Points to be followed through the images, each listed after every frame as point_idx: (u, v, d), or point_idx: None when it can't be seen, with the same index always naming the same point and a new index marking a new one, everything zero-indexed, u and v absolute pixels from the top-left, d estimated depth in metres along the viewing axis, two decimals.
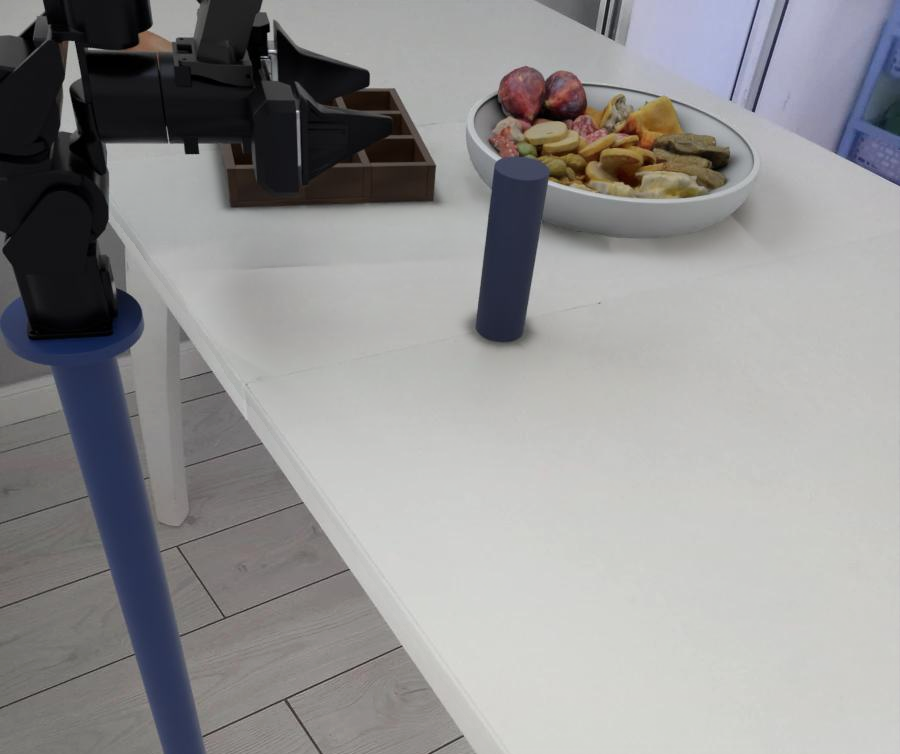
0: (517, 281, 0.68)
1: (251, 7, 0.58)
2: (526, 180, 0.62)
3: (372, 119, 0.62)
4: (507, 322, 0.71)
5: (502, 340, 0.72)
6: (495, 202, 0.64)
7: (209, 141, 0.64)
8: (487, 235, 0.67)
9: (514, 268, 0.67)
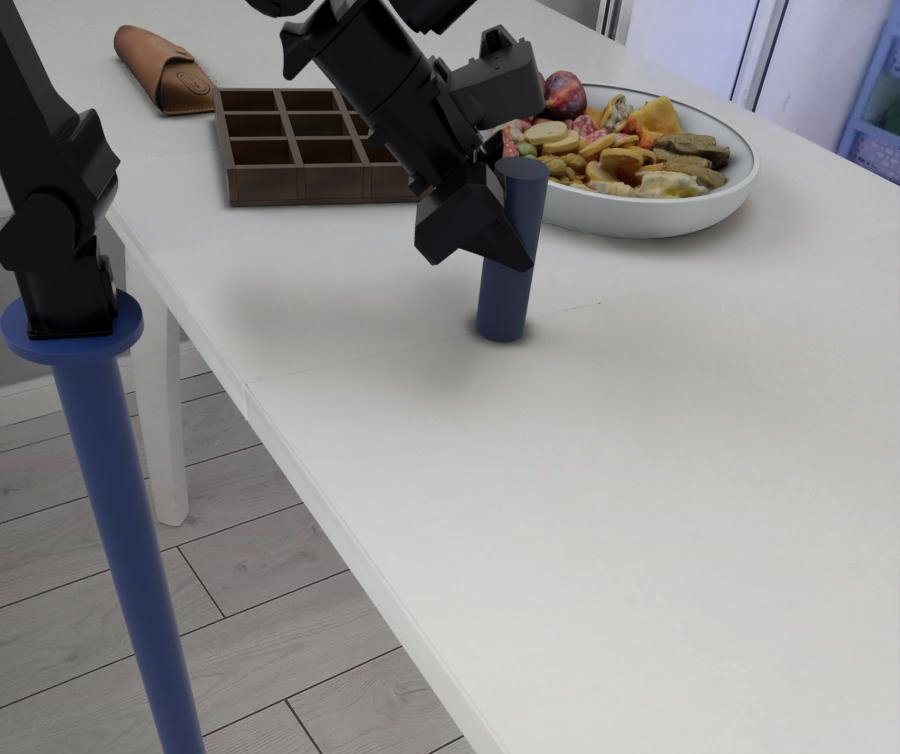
0: (517, 281, 0.68)
1: (524, 109, 0.59)
2: (526, 180, 0.62)
3: (523, 251, 0.65)
4: (507, 322, 0.71)
5: (502, 340, 0.72)
6: None
7: (392, 150, 0.61)
8: None
9: None
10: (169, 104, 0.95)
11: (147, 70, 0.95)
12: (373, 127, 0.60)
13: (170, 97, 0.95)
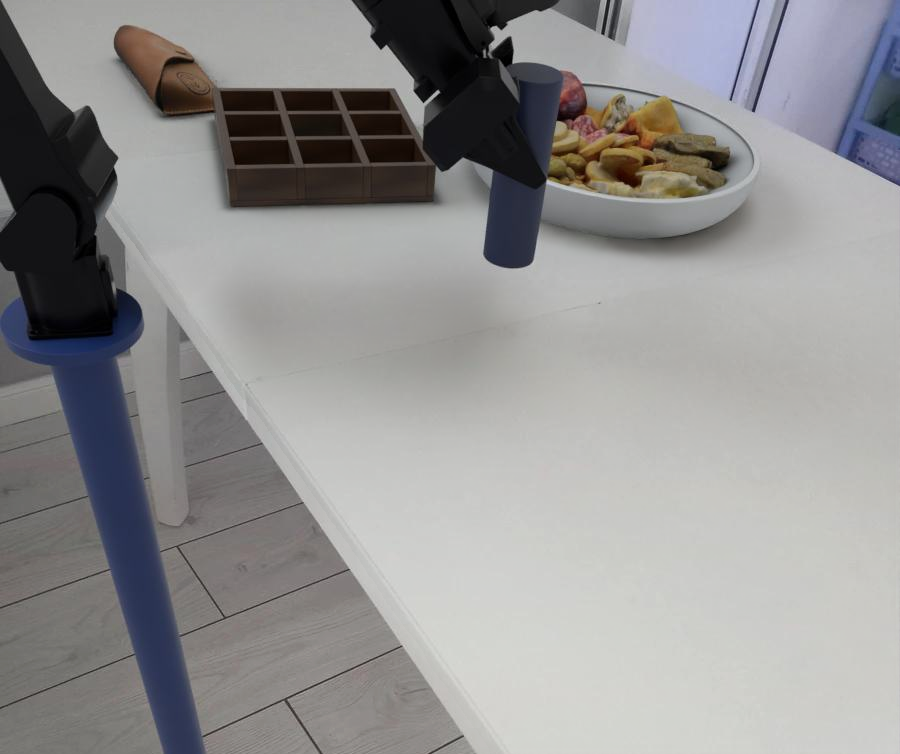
0: (529, 199, 0.64)
1: (538, 1, 0.55)
2: (539, 83, 0.58)
3: (536, 164, 0.62)
4: (517, 246, 0.67)
5: (512, 266, 0.68)
6: None
7: (397, 50, 0.57)
8: None
9: (525, 185, 0.63)
10: (169, 104, 0.95)
11: (148, 70, 0.95)
12: (376, 24, 0.56)
13: (170, 97, 0.95)
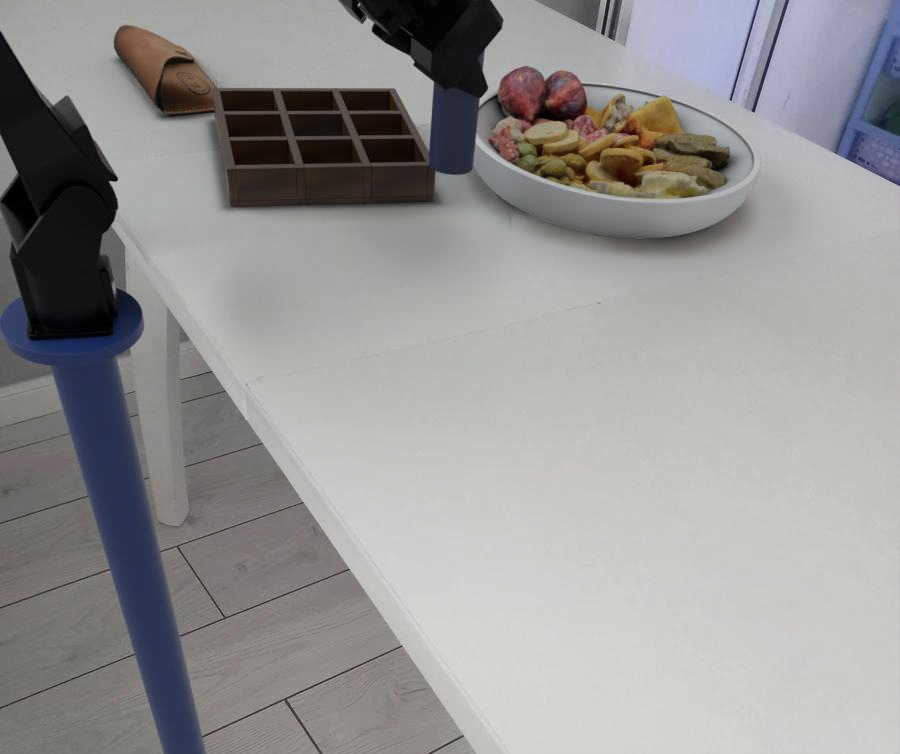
0: (473, 109, 0.75)
1: None
2: None
3: (482, 75, 0.72)
4: (466, 152, 0.77)
5: (463, 172, 0.78)
6: None
7: None
8: None
9: (471, 96, 0.74)
10: (169, 104, 0.95)
11: (148, 70, 0.95)
12: None
13: (170, 97, 0.95)
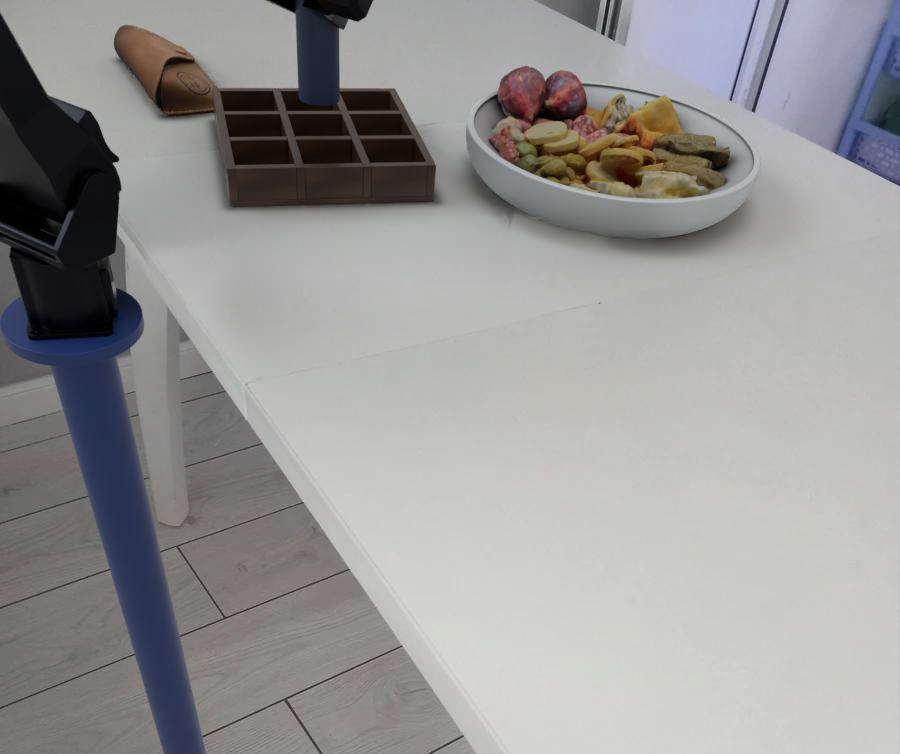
0: (338, 40, 0.83)
1: None
2: None
3: None
4: (337, 82, 0.86)
5: (336, 101, 0.87)
6: None
7: None
8: None
9: (336, 29, 0.82)
10: (170, 104, 0.95)
11: (148, 70, 0.95)
12: None
13: (170, 97, 0.95)
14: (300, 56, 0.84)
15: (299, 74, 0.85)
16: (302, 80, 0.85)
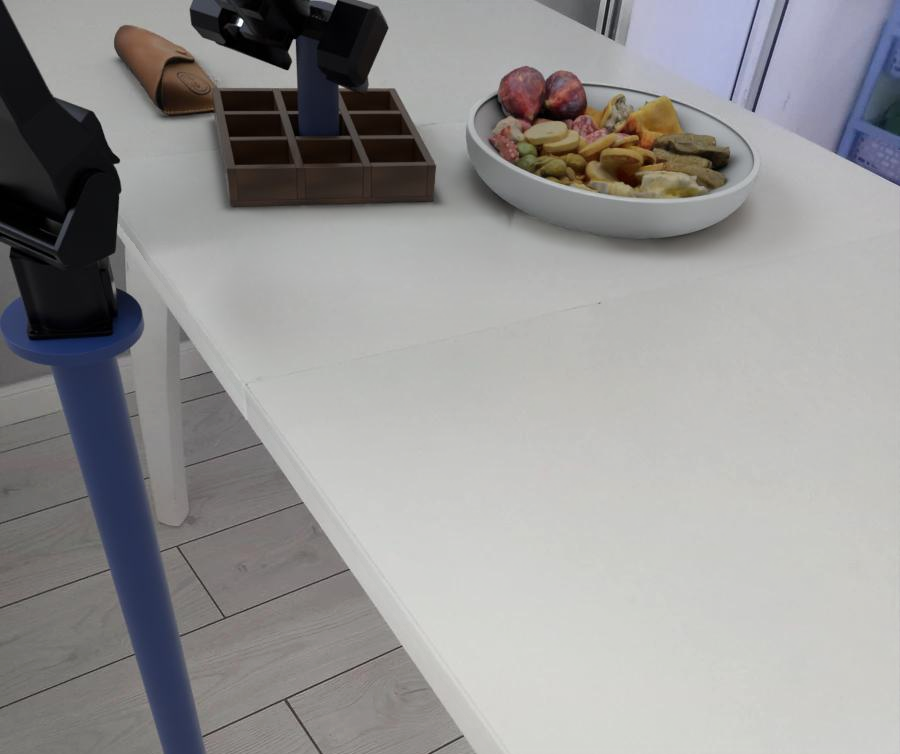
0: (337, 100, 0.87)
1: None
2: None
3: None
4: None
5: None
6: (315, 40, 0.82)
7: (266, 18, 0.75)
8: (309, 73, 0.84)
9: (336, 90, 0.86)
10: (170, 104, 0.95)
11: (148, 70, 0.95)
12: (254, 2, 0.73)
13: (171, 97, 0.95)
14: (301, 115, 0.88)
15: (300, 132, 0.89)
16: None
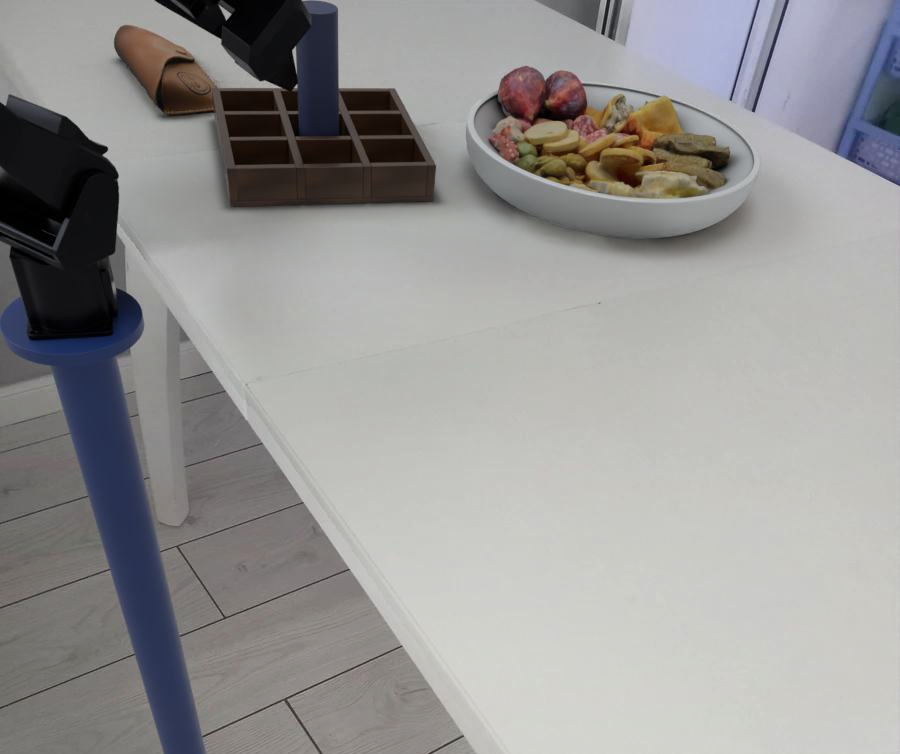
0: (337, 100, 0.87)
1: None
2: (334, 11, 0.81)
3: (294, 71, 0.75)
4: None
5: None
6: (315, 40, 0.82)
7: None
8: (309, 73, 0.84)
9: (336, 90, 0.86)
10: (170, 104, 0.95)
11: (148, 70, 0.95)
12: None
13: (171, 97, 0.95)
14: (301, 115, 0.88)
15: (300, 132, 0.89)
16: None
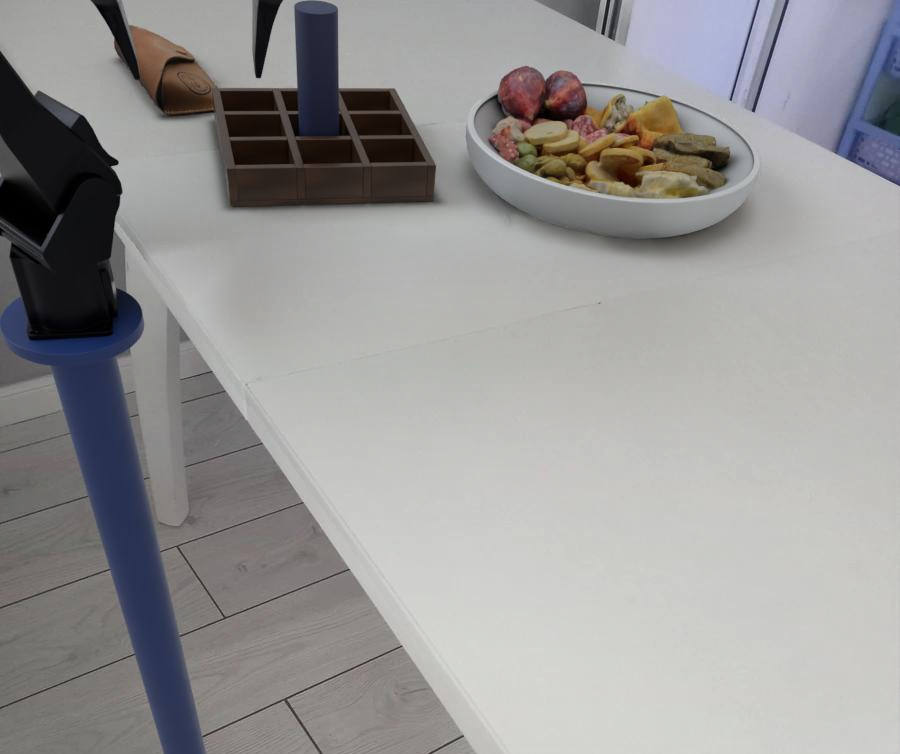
0: (337, 100, 0.87)
1: None
2: (334, 11, 0.81)
3: (125, 59, 0.67)
4: None
5: None
6: (315, 40, 0.82)
7: None
8: (309, 73, 0.84)
9: (336, 90, 0.86)
10: (170, 104, 0.95)
11: (148, 70, 0.95)
12: None
13: (171, 97, 0.95)
14: (301, 115, 0.88)
15: (300, 132, 0.89)
16: None
